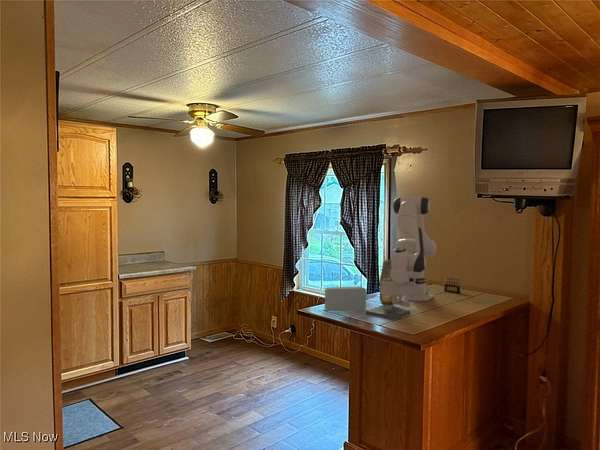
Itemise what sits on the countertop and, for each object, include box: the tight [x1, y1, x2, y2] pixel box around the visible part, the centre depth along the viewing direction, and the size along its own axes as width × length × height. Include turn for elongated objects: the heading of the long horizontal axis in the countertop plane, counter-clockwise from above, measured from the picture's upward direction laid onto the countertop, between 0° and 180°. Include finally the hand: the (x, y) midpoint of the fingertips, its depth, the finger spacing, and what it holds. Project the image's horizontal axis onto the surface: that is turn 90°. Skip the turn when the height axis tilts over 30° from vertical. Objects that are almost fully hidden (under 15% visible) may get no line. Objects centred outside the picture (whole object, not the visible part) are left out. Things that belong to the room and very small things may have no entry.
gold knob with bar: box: [381, 296, 411, 308], centre depth 247 cm, size 18×9×4 cm, turn 39°
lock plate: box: [365, 304, 411, 321], centre depth 251 cm, size 18×18×6 cm
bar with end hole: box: [324, 285, 367, 312], centre depth 258 cm, size 23×6×13 cm, turn 102°
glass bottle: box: [379, 259, 395, 306], centre depth 270 cm, size 10×10×28 cm
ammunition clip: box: [443, 274, 461, 294], centre depth 312 cm, size 11×2×12 cm, turn 52°
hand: (397, 303), depth 243 cm, fingers closed
